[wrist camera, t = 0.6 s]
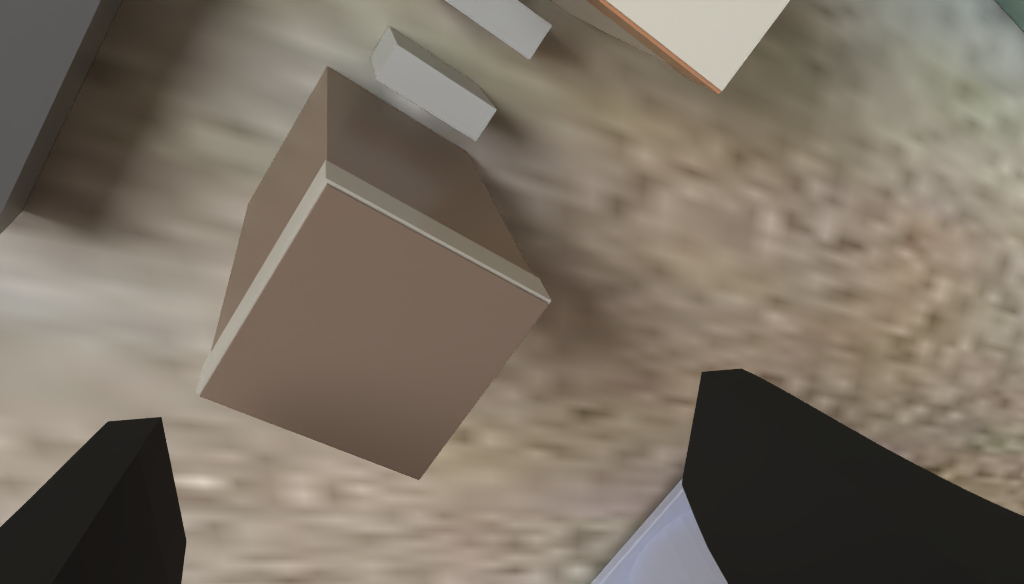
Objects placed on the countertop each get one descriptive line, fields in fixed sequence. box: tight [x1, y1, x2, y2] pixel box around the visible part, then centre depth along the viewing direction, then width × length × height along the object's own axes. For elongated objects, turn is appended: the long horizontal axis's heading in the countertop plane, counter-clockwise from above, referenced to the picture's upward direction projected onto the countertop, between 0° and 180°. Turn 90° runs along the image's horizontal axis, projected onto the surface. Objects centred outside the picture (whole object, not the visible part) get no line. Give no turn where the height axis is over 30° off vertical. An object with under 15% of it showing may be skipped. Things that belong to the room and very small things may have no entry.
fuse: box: [196, 67, 551, 480], centre depth 15 cm, size 4×4×8 cm
